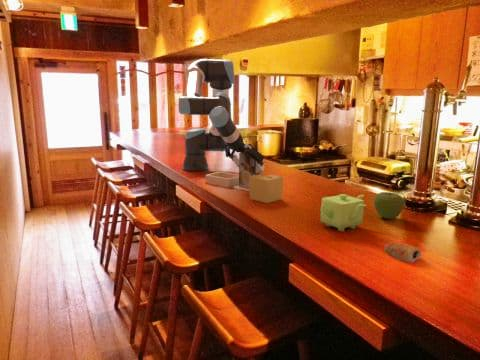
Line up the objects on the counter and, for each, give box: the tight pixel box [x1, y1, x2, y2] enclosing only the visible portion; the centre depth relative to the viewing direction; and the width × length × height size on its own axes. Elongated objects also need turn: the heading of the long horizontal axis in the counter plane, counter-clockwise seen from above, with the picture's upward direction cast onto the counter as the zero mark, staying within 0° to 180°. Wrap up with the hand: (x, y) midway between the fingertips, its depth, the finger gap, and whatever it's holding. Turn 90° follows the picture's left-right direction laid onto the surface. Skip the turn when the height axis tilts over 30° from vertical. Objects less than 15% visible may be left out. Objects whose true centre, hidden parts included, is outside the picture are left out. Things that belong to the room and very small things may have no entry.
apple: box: [373, 191, 407, 220], centre depth 139 cm, size 11×10×10 cm
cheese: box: [248, 174, 284, 204], centre depth 161 cm, size 10×11×10 cm
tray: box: [204, 171, 239, 188], centre depth 189 cm, size 12×15×4 cm
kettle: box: [319, 193, 367, 232], centre depth 129 cm, size 15×14×11 cm
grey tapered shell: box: [384, 243, 422, 263], centre depth 107 cm, size 9×7×4 cm
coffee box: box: [238, 152, 262, 188], centre depth 179 cm, size 9×6×16 cm
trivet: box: [232, 185, 249, 192], centre depth 181 cm, size 11×11×1 cm
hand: (251, 167), depth 179 cm, fingers open, 13 cm apart
